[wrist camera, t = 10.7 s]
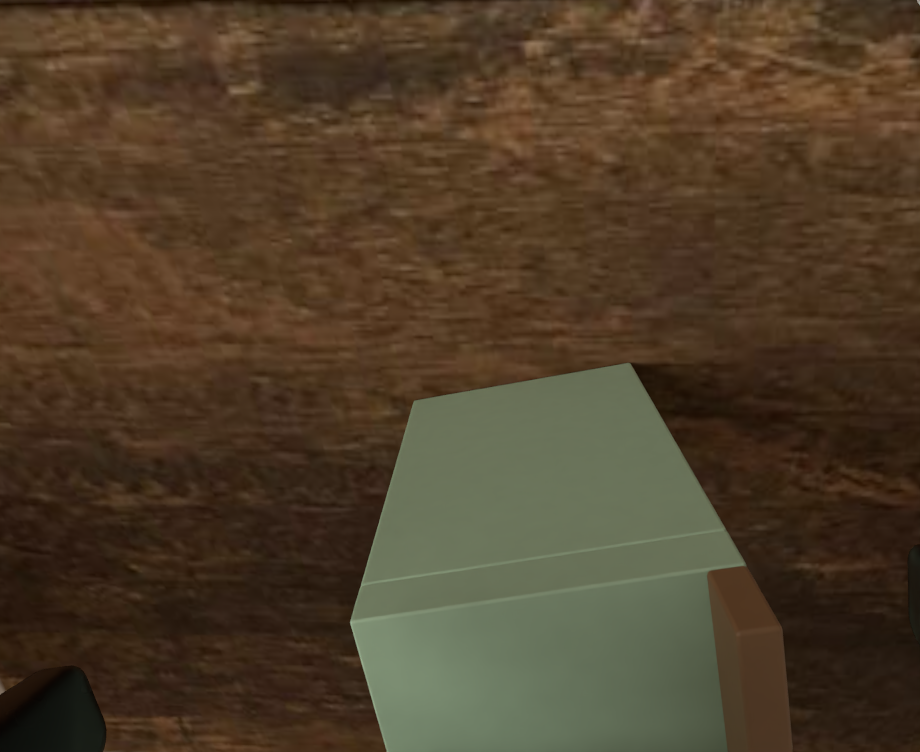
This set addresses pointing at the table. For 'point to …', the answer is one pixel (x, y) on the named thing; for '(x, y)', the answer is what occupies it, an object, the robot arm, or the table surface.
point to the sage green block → (562, 584)
